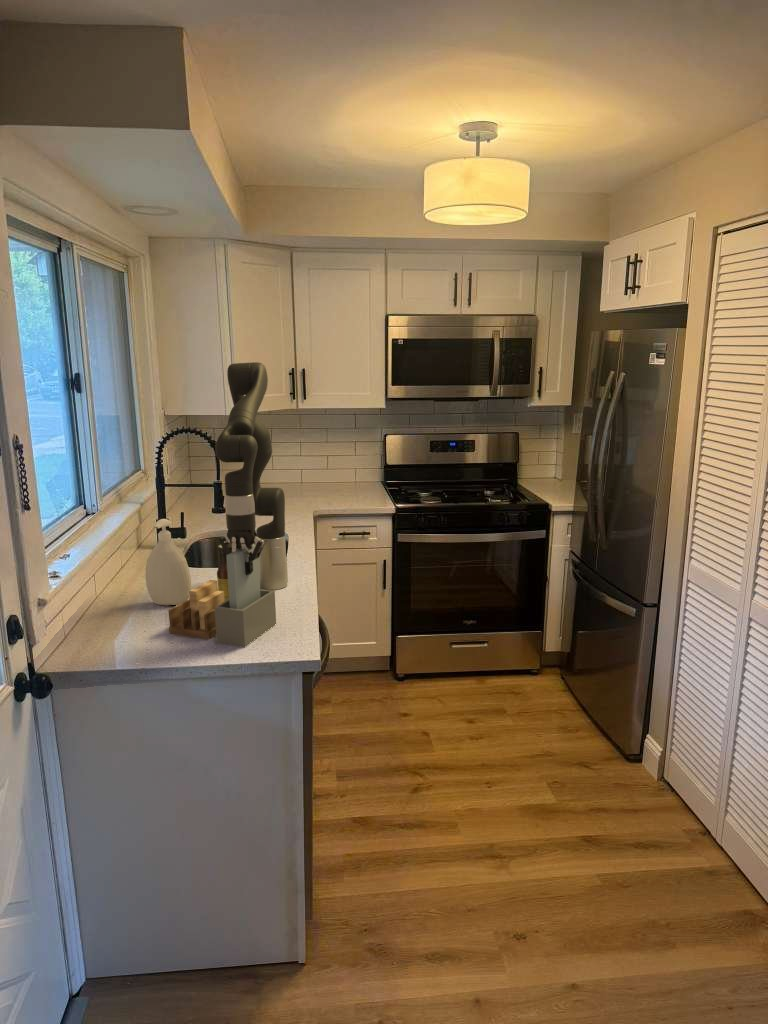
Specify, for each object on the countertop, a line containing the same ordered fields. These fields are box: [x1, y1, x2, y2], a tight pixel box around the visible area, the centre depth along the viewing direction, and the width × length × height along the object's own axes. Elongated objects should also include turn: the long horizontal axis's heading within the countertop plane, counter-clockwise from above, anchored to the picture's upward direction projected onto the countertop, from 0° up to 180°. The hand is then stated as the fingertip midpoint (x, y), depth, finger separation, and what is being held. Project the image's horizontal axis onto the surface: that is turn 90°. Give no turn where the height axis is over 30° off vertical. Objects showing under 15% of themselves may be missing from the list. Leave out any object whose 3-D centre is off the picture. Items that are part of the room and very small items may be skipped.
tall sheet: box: [226, 543, 261, 610], centre depth 179 cm, size 12×2×20 cm, turn 160°
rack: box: [167, 598, 216, 640], centre depth 185 cm, size 14×13×7 cm
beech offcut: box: [198, 591, 225, 630], centre depth 183 cm, size 9×2×8 cm, turn 160°
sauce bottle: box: [216, 544, 229, 601], centre depth 199 cm, size 7×6×20 cm
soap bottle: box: [145, 518, 192, 606], centre depth 202 cm, size 14×8×27 cm, turn 81°
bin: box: [214, 588, 277, 648], centre depth 180 cm, size 17×9×10 cm, turn 160°
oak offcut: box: [189, 579, 218, 625], centre depth 186 cm, size 10×2×10 cm, turn 160°
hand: (244, 573), depth 178 cm, fingers closed on tall sheet, 2 cm apart
